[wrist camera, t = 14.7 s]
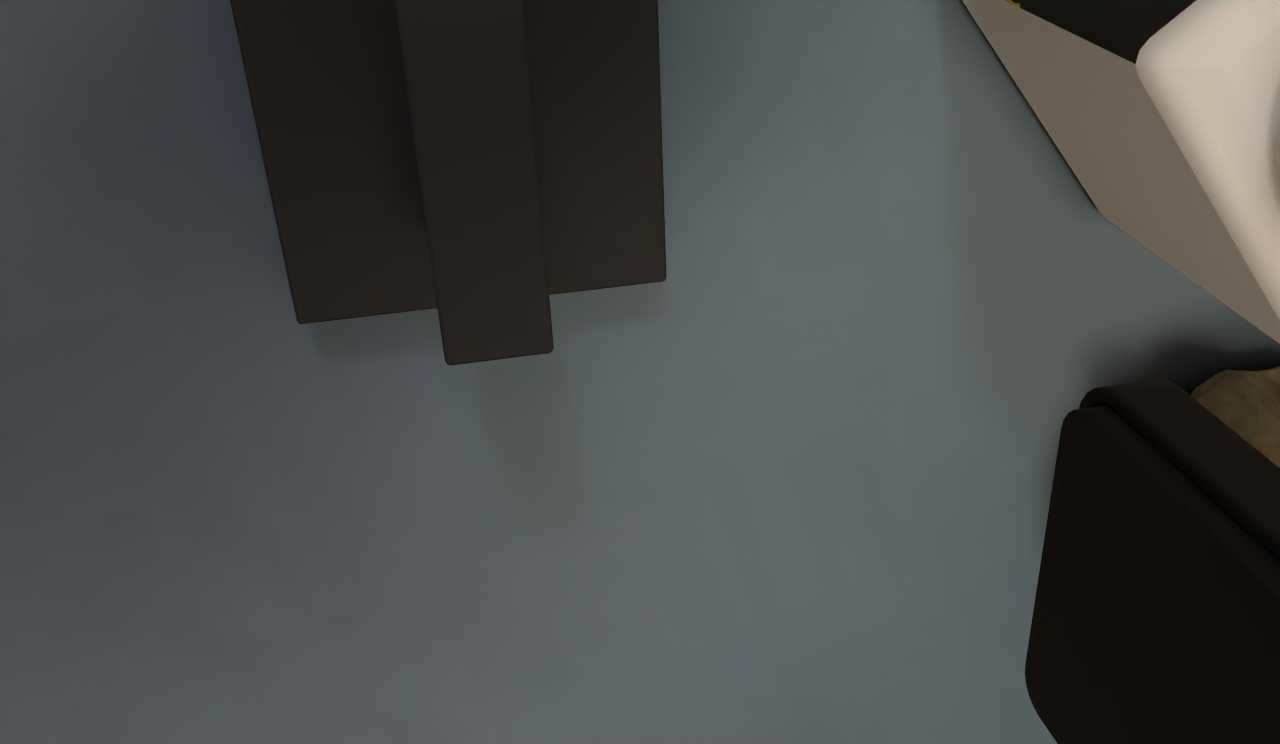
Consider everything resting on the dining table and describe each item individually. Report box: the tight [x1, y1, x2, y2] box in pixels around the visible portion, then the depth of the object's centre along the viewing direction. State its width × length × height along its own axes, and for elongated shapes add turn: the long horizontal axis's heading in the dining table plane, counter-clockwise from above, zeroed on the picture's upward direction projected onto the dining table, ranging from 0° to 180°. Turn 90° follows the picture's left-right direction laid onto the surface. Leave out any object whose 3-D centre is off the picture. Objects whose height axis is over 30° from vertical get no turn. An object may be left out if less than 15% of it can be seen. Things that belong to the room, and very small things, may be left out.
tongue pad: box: [230, 0, 666, 365], centre depth 18 cm, size 7×12×6 cm, turn 2°
